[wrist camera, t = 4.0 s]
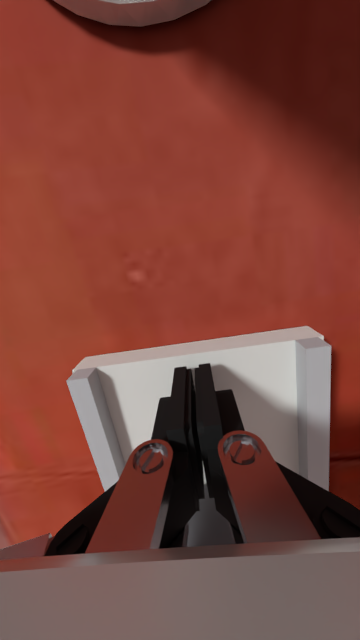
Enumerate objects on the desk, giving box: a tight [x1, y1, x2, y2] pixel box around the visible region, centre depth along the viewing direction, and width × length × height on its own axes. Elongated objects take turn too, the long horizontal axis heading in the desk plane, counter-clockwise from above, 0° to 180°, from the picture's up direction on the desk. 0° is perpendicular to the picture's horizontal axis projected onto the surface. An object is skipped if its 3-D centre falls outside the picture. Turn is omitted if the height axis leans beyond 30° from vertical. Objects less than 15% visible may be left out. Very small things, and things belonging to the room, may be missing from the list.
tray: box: [67, 326, 331, 491], centre depth 15 cm, size 28×12×2 cm, turn 10°
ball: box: [187, 485, 234, 547], centre depth 11 cm, size 5×5×5 cm
